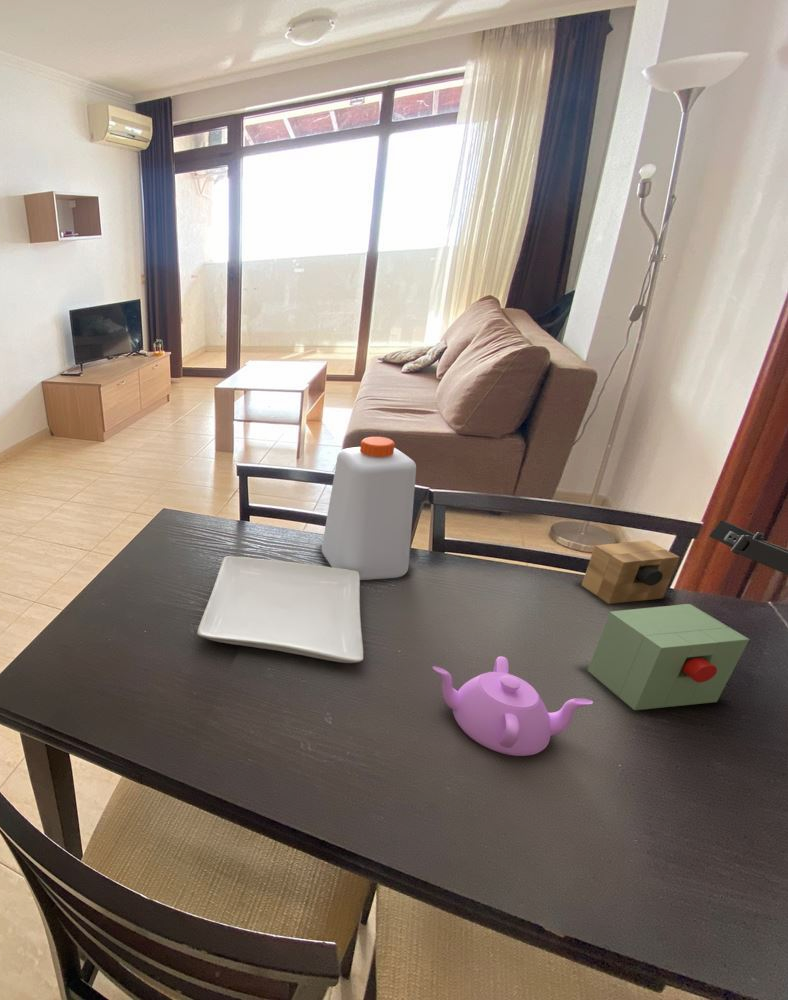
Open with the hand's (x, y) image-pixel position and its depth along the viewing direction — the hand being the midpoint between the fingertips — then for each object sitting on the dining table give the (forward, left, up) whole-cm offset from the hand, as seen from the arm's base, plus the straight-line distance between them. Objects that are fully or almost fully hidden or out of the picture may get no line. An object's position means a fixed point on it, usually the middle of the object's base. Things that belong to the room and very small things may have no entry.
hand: (768, 543), depth 77 cm
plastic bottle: (+53, -9, -20) cm, 57 cm away
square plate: (+65, +15, -20) cm, 69 cm away
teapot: (+32, +30, -20) cm, 48 cm away
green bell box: (+11, +13, -20) cm, 27 cm away
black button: (+7, -10, -15) cm, 19 cm away
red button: (+9, +17, -14) cm, 24 cm away
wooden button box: (+9, -13, -20) cm, 26 cm away
